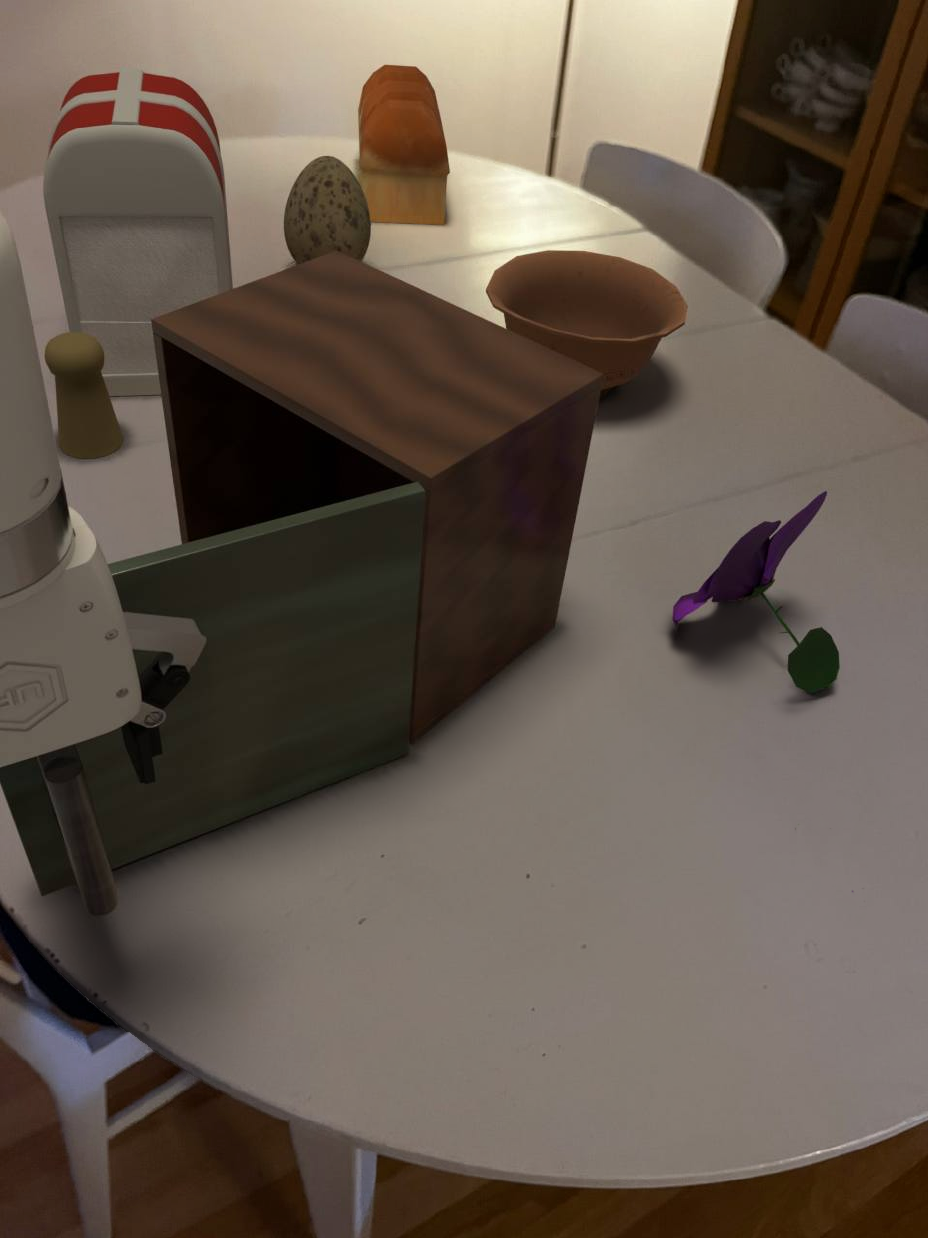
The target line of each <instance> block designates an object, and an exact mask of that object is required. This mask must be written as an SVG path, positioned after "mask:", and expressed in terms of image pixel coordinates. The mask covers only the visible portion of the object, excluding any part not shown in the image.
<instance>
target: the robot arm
mask: <svg viewBox="0 0 928 1238" xmlns="http://www.w3.org/2000/svg"><path fill="white" fill-rule="evenodd" d="M26 289H27V288H26V284H25V278H24V274H23V269H22V263H21V258H20V255H19V251H18V248H17V243H16V240H15V236H14V233H13V230H12V228H11V225H10V224H9V222H8V221H7V219H6V218H5V216H4V214H3V213H2V211H0V767H3V766H6V765H10V764H13V763H16V762H19V761H23V760H26V759H29V758H32V757H35V756H38V755H42V754H45V753H48V752H51V751H54V750H57V749H60V748H63V747H66V746H70V745H73V744H76V743H79V742H82V741H85V740H88V739H91V738H94V737H97V736H100V735H102V734H105V733H108V732H110V731H113V730H115V729H117V728H119V727H121V729H122V734H123V740H124V744H125V747H126V750H127V752H128V754H129V757H130V759H131V762H132V764H133V766H134V769H135V771H136V774H137V776H138V778H139V781H140V783H145V785H147V784H150V783H153V782H156V779H155V772H154V766H153V760H152V757H155V756H158V755H161V754H163V751H162V744H161V738H160V731H159V725H160V724H161V723H163V721H164V720H165V718H166V713H165V711H164V709H165V708H166V707H167V706H168V704H169V703H170V702H171V701H172V700H173V699H174V698H175V697H176V696H177V695H178V694H179V692H180V691H181V690H182V689H183V688H184V687H185V686H186V685H187V684H188V682H189V681H190V674H189V671H190V669H191V667H192V666H194V665H195V663H196V661H197V659H198V657H199V656H200V654H201V652H202V650H203V648H204V646H205V644H206V637H205V635H204V633H203V631H202V630H201V628H200V626H199V624H198V622H197V621H196V620H194V619H190V618H180V617H170V616H160V615H151V614H141V613H131V612H123V611H122V607H121V604H120V600H119V597H118V593H117V590H116V587H115V584H114V580H113V577H112V575H111V572H110V569H109V567H108V564H109V563H108V562H107V559H106V557H105V554H104V552H103V550H102V547H101V546H100V544H99V541H98V540H97V537H96V536H95V533H94V532H93V531H92V529H91V528H90V526H89V525H88V524H87V523H86V520H85V519H84V517H83V516H82V515H81V514H80V513H79V512H78V511H77V510H75V509H74V508H73V507H71V506H69V504H68V503H69V502H68V498H67V492H66V488H65V483H64V477H63V472H62V467H61V464H60V458H59V457H60V456H59V451H58V448H57V442H56V437H55V432H54V427H53V421H52V418H51V417H52V416H51V412H50V407H49V402H48V396H47V392H46V386H45V381H44V376H43V371H42V366H41V359H40V355H39V351H38V346H37V341H36V340H37V339H36V334H35V330H34V325H33V320H32V315H31V309H30V304H29V299H28V296H27V295H28V294H27V290H26ZM132 649H133V650H146V651H159V652H161V653H160V654H158V655H157V656H156V658H155V659H154V660H153V661H152V662H151V663H150V664H149V665H148V666H147V668H146V669H145V670H144V671H143V672H142V671H140V670H138V669H136V664H135V660H134V655H133V651H132Z"/></svg>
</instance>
